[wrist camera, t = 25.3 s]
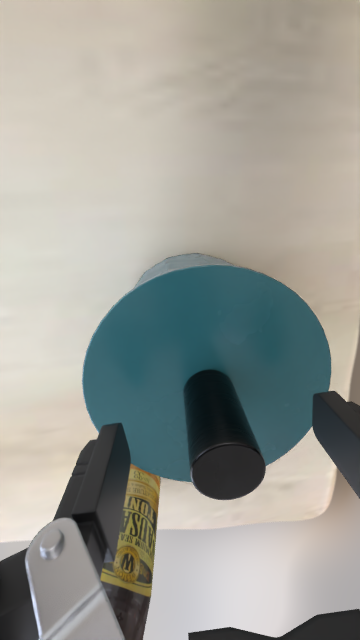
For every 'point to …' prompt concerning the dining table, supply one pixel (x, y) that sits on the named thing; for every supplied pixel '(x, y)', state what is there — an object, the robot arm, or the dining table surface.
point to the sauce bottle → (134, 554)
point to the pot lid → (208, 375)
